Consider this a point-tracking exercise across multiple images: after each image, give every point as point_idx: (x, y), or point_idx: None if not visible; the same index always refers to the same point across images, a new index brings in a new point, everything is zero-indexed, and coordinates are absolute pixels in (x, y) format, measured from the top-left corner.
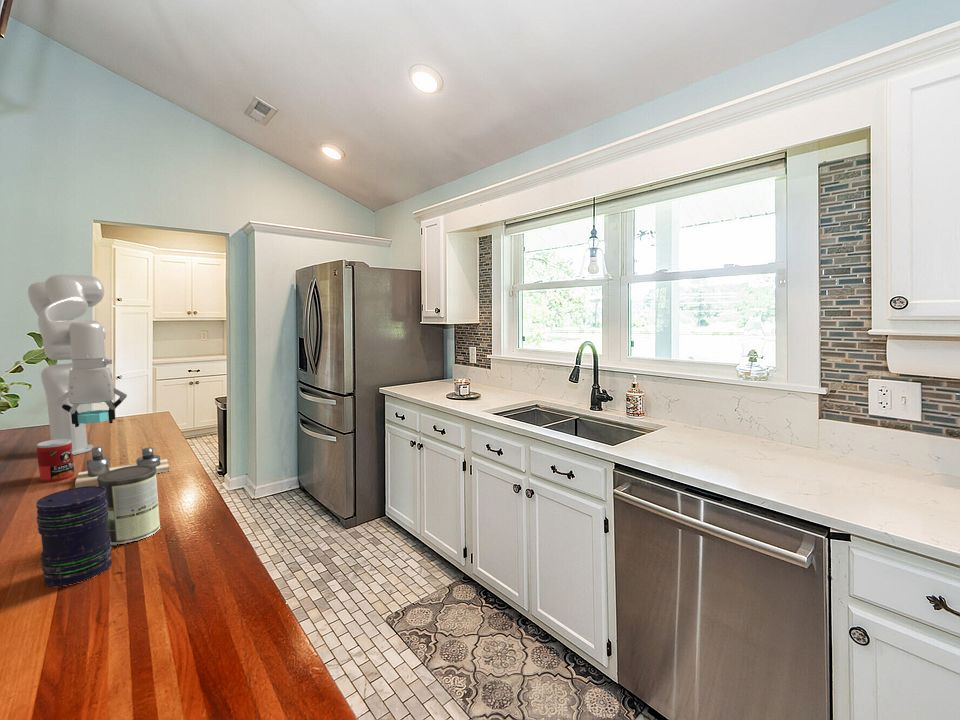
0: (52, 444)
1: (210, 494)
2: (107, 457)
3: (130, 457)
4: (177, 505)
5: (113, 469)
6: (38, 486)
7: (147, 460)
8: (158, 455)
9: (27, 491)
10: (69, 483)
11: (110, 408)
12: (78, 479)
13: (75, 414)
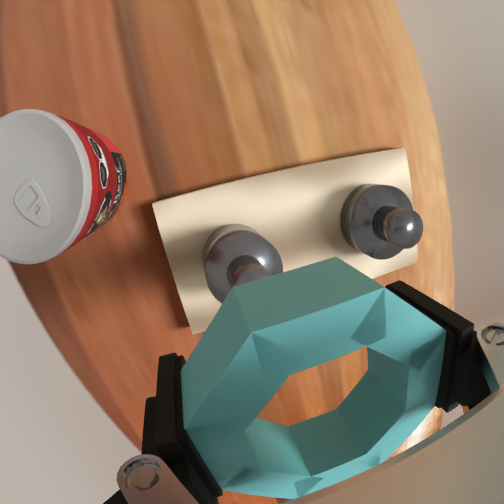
0: (25, 217)
1: (441, 414)
2: (276, 258)
3: (259, 3)
4: (401, 448)
5: (268, 214)
6: (68, 261)
7: (387, 257)
8: (409, 201)
9: (65, 302)
10: (150, 266)
11: (465, 412)
12: (187, 299)
13: (211, 501)
